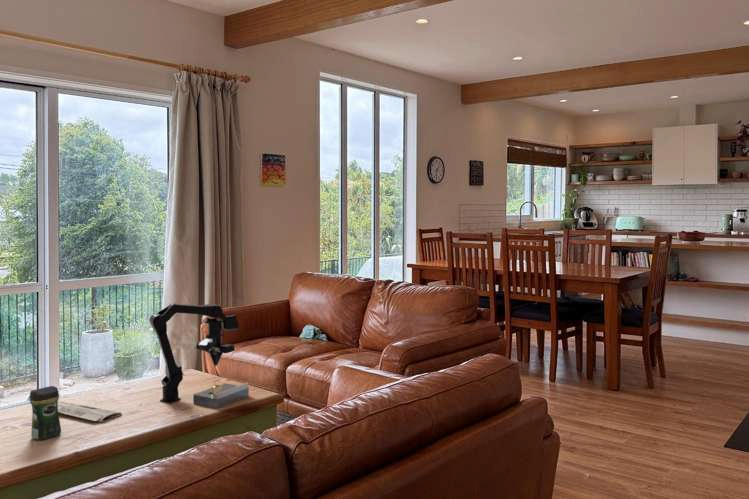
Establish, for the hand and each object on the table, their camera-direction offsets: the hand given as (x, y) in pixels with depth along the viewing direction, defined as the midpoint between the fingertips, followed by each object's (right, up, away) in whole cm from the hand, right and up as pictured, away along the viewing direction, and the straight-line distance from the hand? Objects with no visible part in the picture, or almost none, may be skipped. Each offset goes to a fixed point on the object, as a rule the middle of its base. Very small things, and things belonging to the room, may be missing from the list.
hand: (215, 365), depth 293 cm
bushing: (+3, -14, -11) cm, 18 cm away
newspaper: (-50, -16, -27) cm, 59 cm away
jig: (+5, -14, -9) cm, 17 cm away
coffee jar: (-51, -17, -53) cm, 75 cm away
